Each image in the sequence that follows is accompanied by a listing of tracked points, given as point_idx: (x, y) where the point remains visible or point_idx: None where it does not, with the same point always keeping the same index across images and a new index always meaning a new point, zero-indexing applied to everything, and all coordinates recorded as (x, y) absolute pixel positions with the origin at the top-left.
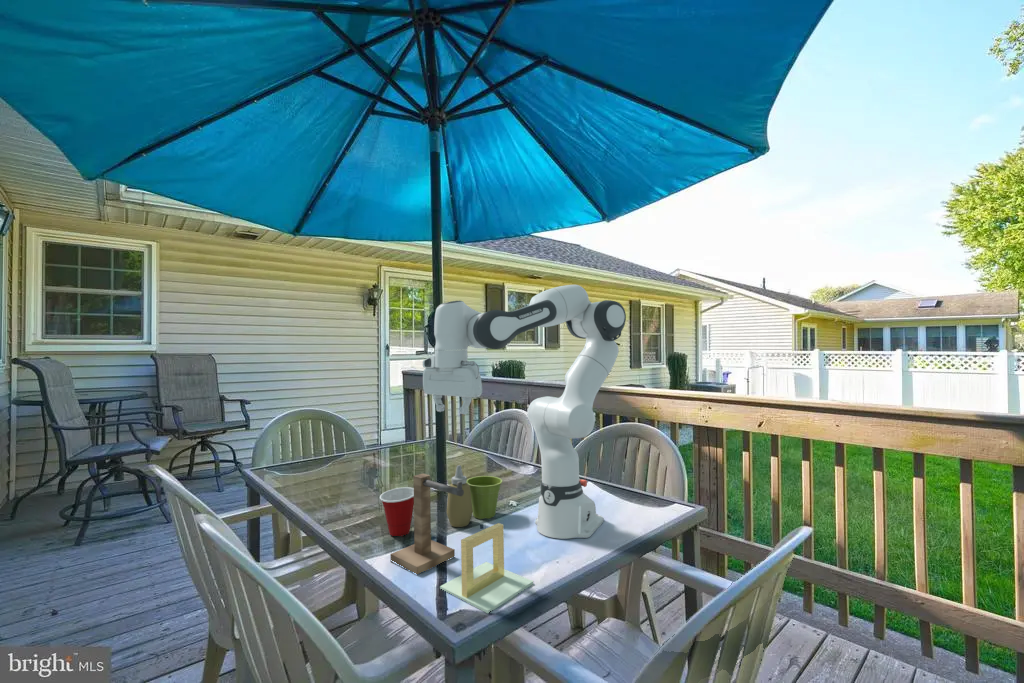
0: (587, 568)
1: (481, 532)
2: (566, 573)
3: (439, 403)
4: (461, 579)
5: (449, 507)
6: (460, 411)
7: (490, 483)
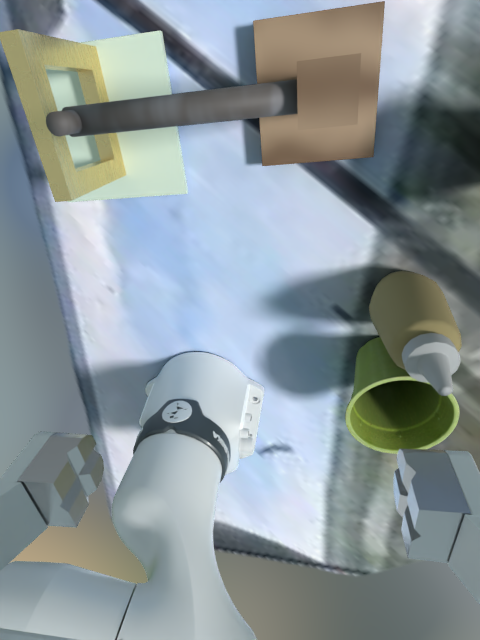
0: (64, 302)
1: (36, 117)
2: (69, 267)
3: (471, 554)
4: (154, 94)
5: (419, 286)
6: (64, 446)
7: (406, 433)
